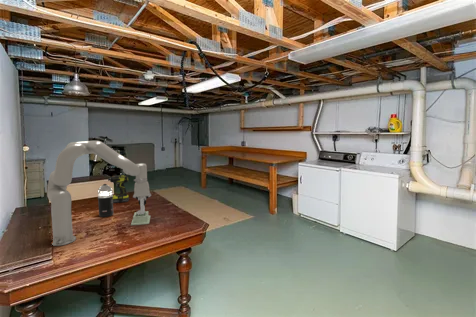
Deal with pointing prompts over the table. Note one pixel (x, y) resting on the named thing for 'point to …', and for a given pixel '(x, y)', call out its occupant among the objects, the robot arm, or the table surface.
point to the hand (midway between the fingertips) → (142, 204)
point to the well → (140, 219)
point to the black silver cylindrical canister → (105, 201)
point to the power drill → (119, 183)
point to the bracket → (141, 206)
